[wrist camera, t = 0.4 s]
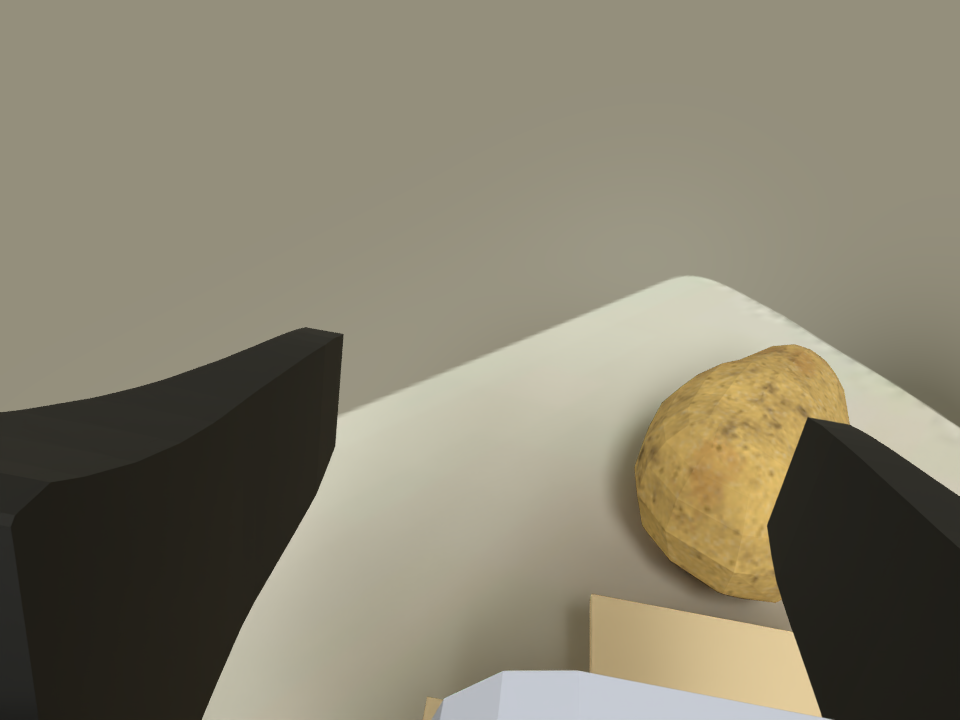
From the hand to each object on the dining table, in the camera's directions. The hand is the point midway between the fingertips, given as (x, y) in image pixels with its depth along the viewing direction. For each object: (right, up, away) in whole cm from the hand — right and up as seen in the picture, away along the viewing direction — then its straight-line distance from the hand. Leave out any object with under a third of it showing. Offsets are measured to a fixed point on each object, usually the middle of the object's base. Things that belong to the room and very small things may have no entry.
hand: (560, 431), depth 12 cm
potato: (+11, -8, +27) cm, 30 cm away
